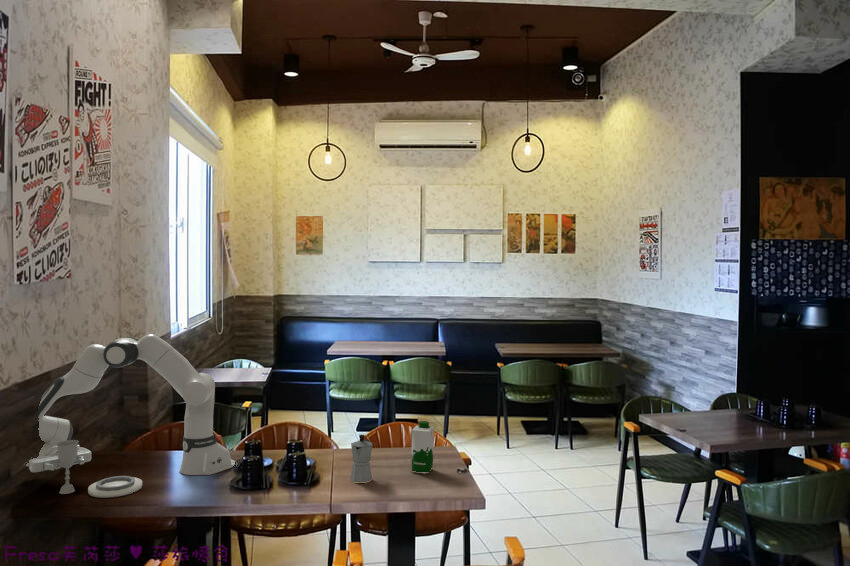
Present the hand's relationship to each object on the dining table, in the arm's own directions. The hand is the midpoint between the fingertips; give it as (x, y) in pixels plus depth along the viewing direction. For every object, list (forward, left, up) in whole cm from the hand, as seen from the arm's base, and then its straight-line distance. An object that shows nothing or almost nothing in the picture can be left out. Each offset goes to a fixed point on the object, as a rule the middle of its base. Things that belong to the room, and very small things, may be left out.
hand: (68, 464), depth 224 cm
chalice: (0, -1, -10) cm, 10 cm away
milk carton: (-107, +79, -10) cm, 134 cm away
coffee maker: (-83, +68, -10) cm, 108 cm away
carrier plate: (-13, +9, -10) cm, 19 cm away
